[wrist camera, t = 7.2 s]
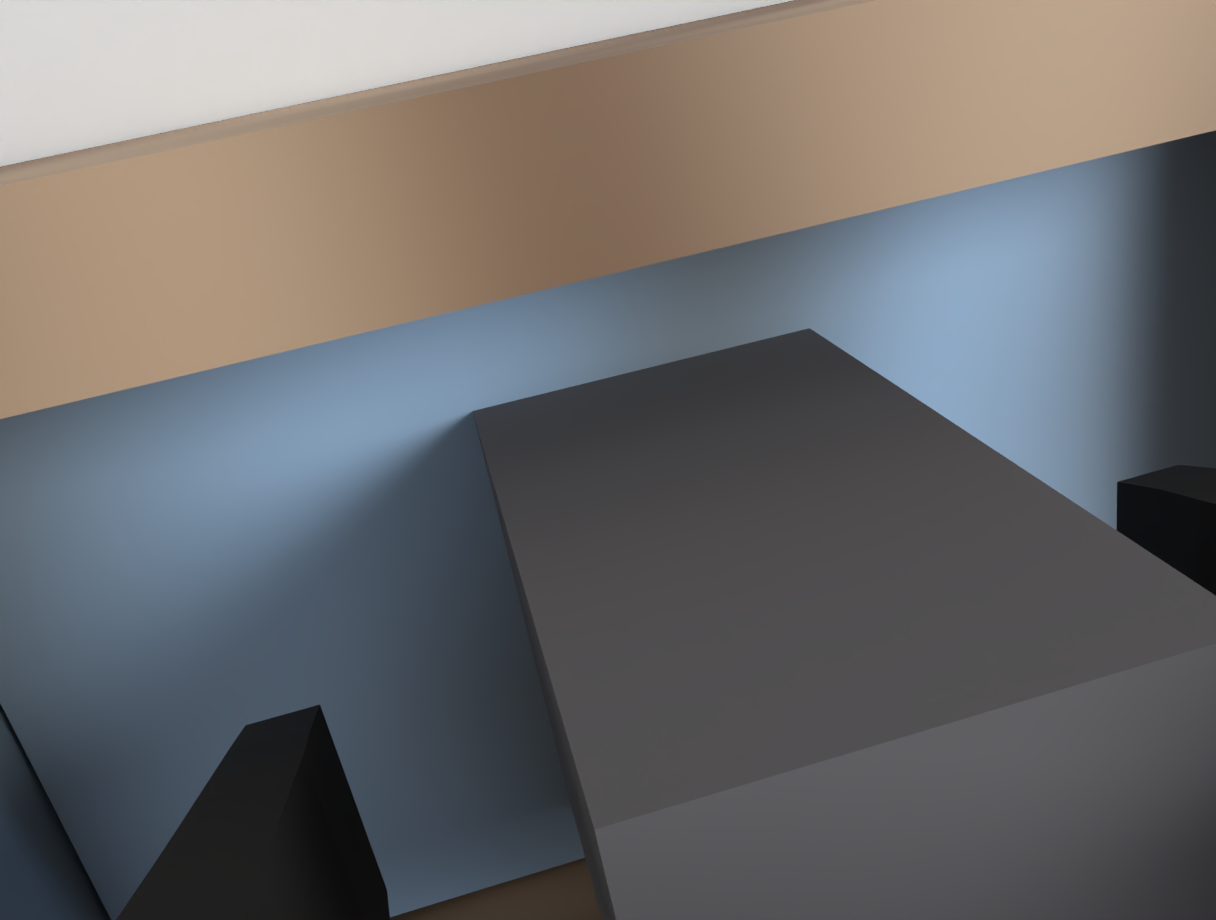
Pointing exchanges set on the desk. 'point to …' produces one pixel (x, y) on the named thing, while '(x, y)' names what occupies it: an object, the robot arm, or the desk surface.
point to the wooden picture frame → (530, 379)
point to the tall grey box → (848, 656)
